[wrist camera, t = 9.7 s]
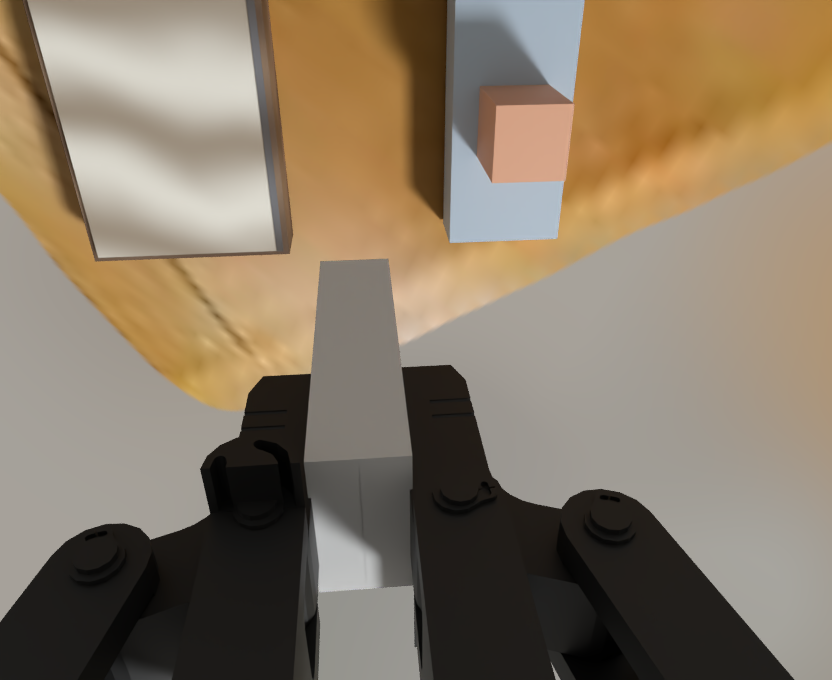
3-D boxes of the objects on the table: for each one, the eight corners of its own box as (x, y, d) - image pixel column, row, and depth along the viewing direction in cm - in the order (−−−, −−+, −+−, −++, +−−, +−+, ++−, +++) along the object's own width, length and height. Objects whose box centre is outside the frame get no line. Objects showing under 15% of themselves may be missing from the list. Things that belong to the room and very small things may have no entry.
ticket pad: (38, -35, 36) (9, -32, 33) (264, -37, 37) (256, -34, 34) (110, 241, 44) (92, 264, 41) (293, 234, 45) (288, 256, 42)
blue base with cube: (447, -28, 38) (471, -19, 31) (569, -29, 38) (620, -20, 31) (443, 223, 46) (461, 277, 38) (544, 219, 46) (580, 272, 39)
